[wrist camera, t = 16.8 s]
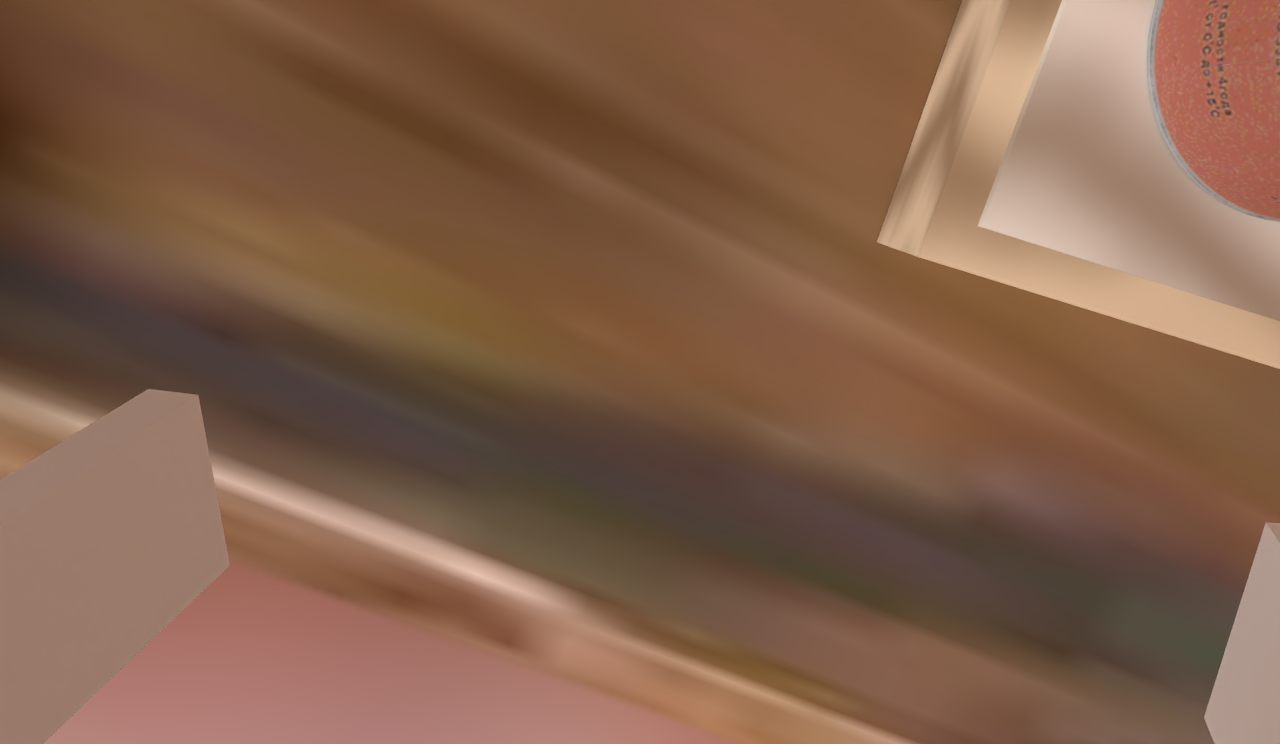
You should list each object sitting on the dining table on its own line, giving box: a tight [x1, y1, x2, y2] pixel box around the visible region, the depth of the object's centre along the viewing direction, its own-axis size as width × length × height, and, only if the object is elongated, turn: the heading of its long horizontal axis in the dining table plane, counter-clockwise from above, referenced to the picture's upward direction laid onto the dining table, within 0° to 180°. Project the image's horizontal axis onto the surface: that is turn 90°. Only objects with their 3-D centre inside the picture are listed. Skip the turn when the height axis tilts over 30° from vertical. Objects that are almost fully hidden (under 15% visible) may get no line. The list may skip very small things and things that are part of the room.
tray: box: [877, 0, 1280, 369], centre depth 33 cm, size 20×20×5 cm
